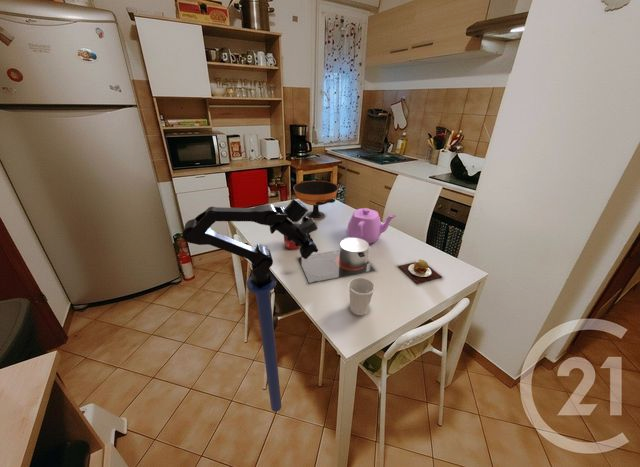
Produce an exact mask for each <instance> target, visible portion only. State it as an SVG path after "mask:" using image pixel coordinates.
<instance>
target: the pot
mask: <svg viewBox="0 0 640 467" xmlns="http://www.w3.org/2000/svg"><path fill="white" fill-rule="evenodd" d="M369 249H370V243H367V242H366V241H365V240H363V239H360V238H350V237H349V236H347V237H345V238H344V239H342V240H341V241H340V243H339V251H340V256H339V261H340V263H341V264H342V265H343V266H345V267H348V268H353V269H358V268H362V267H364V266H365V265H366V264H367V261H369V260H368V259H369Z"/></svg>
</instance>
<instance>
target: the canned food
mask: <svg viewBox="0 0 640 467" xmlns="http://www.w3.org/2000/svg"><path fill="white" fill-rule="evenodd" d="M291 222H292V221H291ZM292 223H294V224H296V223H297V224H301V222H299V221H298V222H292ZM283 243H284V244H283V245H284V247H285V248H286V249H287V250H291V251H293V250H298V249H300V248H301V247H300V246H298V247H297V246H295V244H294V242H292V241H291V240H290V241H288V240H287V238H286V237H285V236H284V235H283Z"/></svg>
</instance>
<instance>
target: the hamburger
mask: <svg viewBox="0 0 640 467" xmlns="http://www.w3.org/2000/svg"><path fill="white" fill-rule="evenodd" d="M397 267H398V269H400V271H402V272H403V273H404V274H405V275H406V276H407V277H408V278H409V279H410V280H411V281H413V282H414V283H415V284H416V285H418V284H423V283H426V282H430V281H435V280H438V279H441V278H443V276H442V275H441V274H440V273H439V272H437V271H436V270H434V269H433V268H432V267H431V266H429V264H428V262H427V261H426V260H423V259H417V260H415V261H414V262H411V263H405V264H401V265H398V266H397Z"/></svg>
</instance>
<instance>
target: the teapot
mask: <svg viewBox="0 0 640 467" xmlns="http://www.w3.org/2000/svg"><path fill="white" fill-rule="evenodd" d="M396 217H397V215H395V214H392V215H391V214H390V215H388V216H387V217H386V219H385V222H384V223H383V224H382V222H381V217H380V213H379V212H378V211H377V210H374V209H370V208H368V207H364V208H358V209H356V210H355V211H354V212H353V214H352V215H351V216H350V219H349V221H348V223H347V229H346V234H347V237H350V238H360V239H363V240H365V241H366V242H367V243H368V244H373V243H375V242H376V241H377V240H378V239H379V238H380V236H381V235H382V234H384V233H385V232H386V231H387V229H388V228H389V225H390V223H391V221H392V219H394V218H396Z"/></svg>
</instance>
